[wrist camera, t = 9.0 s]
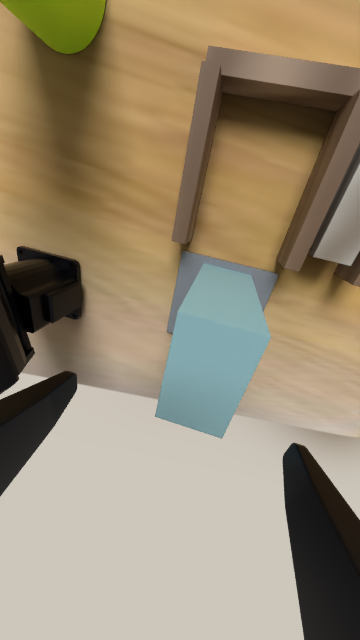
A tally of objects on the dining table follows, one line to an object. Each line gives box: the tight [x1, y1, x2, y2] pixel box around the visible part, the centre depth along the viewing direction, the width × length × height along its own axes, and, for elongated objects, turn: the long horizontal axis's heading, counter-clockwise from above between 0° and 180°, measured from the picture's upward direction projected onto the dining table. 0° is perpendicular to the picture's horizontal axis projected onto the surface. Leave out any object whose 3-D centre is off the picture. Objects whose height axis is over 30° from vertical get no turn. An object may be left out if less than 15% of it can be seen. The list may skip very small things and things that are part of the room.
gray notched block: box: [309, 143, 360, 266], centre depth 14 cm, size 2×8×3 cm, turn 169°
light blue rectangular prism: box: [155, 263, 271, 438], centre depth 15 cm, size 4×7×10 cm, turn 169°
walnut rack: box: [172, 46, 360, 287], centre depth 14 cm, size 14×10×3 cm
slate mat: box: [167, 250, 279, 333], centre depth 20 cm, size 8×8×1 cm
